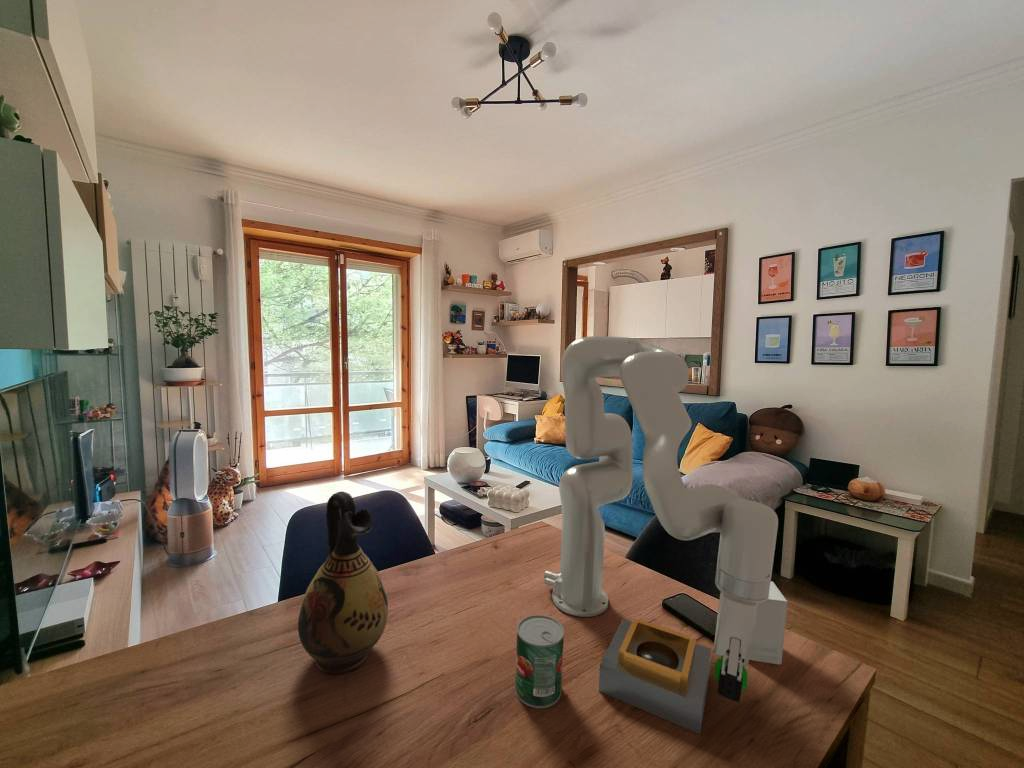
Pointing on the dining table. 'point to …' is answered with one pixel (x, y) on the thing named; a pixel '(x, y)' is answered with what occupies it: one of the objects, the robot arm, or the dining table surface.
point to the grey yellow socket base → (657, 672)
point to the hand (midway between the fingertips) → (729, 683)
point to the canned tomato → (539, 661)
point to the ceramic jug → (343, 595)
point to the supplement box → (770, 628)
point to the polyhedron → (744, 672)
